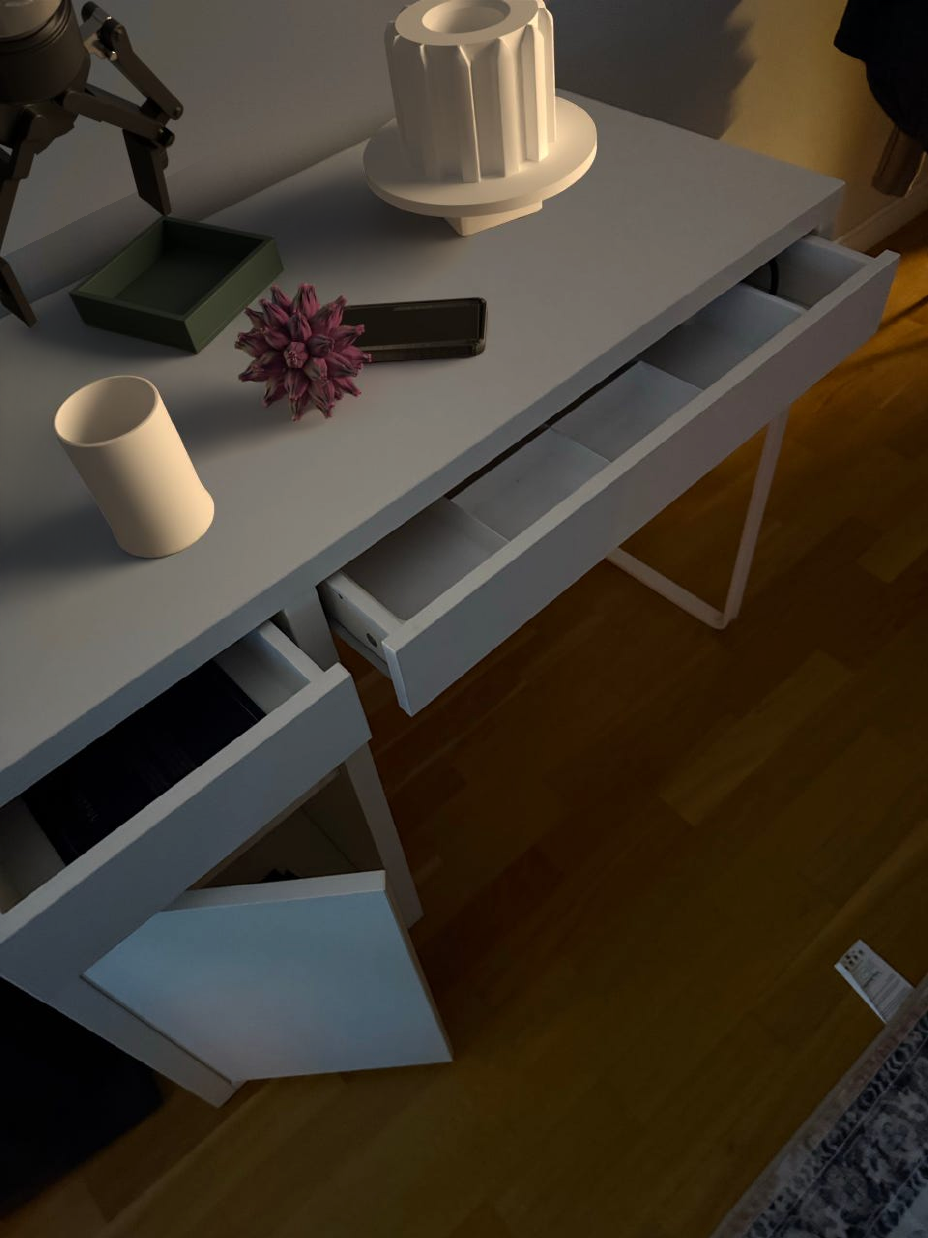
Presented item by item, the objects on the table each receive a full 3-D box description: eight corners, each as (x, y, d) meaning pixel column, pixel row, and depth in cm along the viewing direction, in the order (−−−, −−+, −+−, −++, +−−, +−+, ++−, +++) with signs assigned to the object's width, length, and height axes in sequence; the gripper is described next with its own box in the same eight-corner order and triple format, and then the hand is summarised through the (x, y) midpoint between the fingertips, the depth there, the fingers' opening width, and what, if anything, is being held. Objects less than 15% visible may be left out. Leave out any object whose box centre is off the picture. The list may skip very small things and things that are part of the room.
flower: (362, 456, 81) (228, 442, 80) (376, 367, 88) (253, 353, 87) (363, 353, 71) (211, 335, 71) (379, 261, 78) (240, 245, 77)
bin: (84, 324, 96) (67, 292, 93) (174, 246, 104) (162, 214, 101) (197, 354, 90) (184, 321, 87) (284, 269, 98) (275, 236, 95)
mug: (142, 460, 81) (83, 349, 72) (233, 457, 80) (185, 343, 71) (102, 560, 74) (31, 451, 65) (201, 557, 73) (143, 446, 64)
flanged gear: (532, 129, 111) (523, -54, 96) (639, 218, 97) (648, 18, 82) (344, 192, 107) (304, 10, 92) (426, 295, 92) (394, 99, 77)
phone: (483, 345, 84) (326, 353, 86) (484, 355, 85) (329, 363, 87) (487, 295, 89) (338, 304, 91) (488, 305, 90) (341, 314, 92)
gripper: (-151, 170, 43) (-2, 395, 64) (213, -81, 51) (243, 190, 71) (-264, 77, 44) (-81, 330, 64) (114, -159, 51) (171, 133, 72)
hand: (90, 257), depth 68 cm, fingers open, 13 cm apart
